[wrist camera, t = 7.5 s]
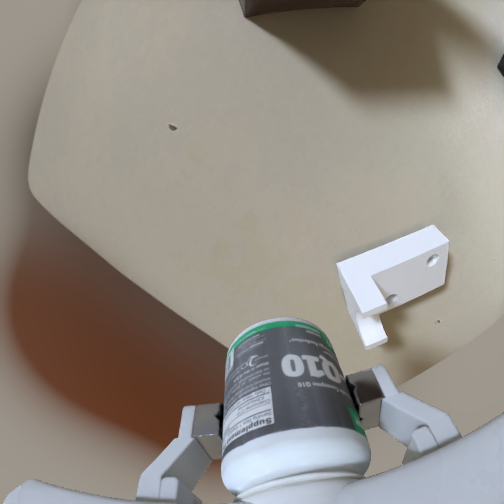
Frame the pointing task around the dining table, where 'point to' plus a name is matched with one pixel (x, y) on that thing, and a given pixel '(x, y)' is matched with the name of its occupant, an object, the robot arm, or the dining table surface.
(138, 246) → the dining table surface
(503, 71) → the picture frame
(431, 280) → the bracket
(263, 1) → the chest
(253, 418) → the pill bottle
